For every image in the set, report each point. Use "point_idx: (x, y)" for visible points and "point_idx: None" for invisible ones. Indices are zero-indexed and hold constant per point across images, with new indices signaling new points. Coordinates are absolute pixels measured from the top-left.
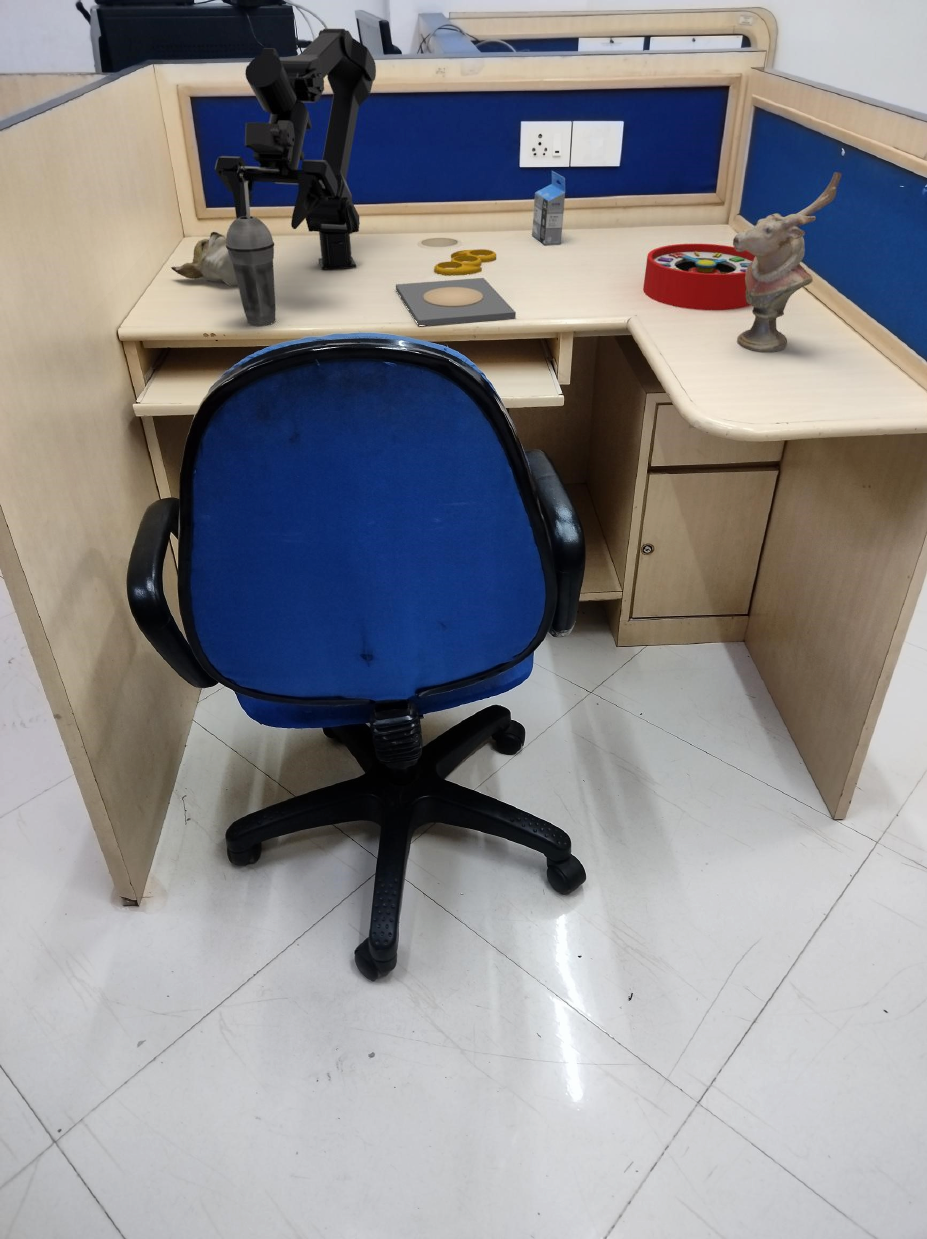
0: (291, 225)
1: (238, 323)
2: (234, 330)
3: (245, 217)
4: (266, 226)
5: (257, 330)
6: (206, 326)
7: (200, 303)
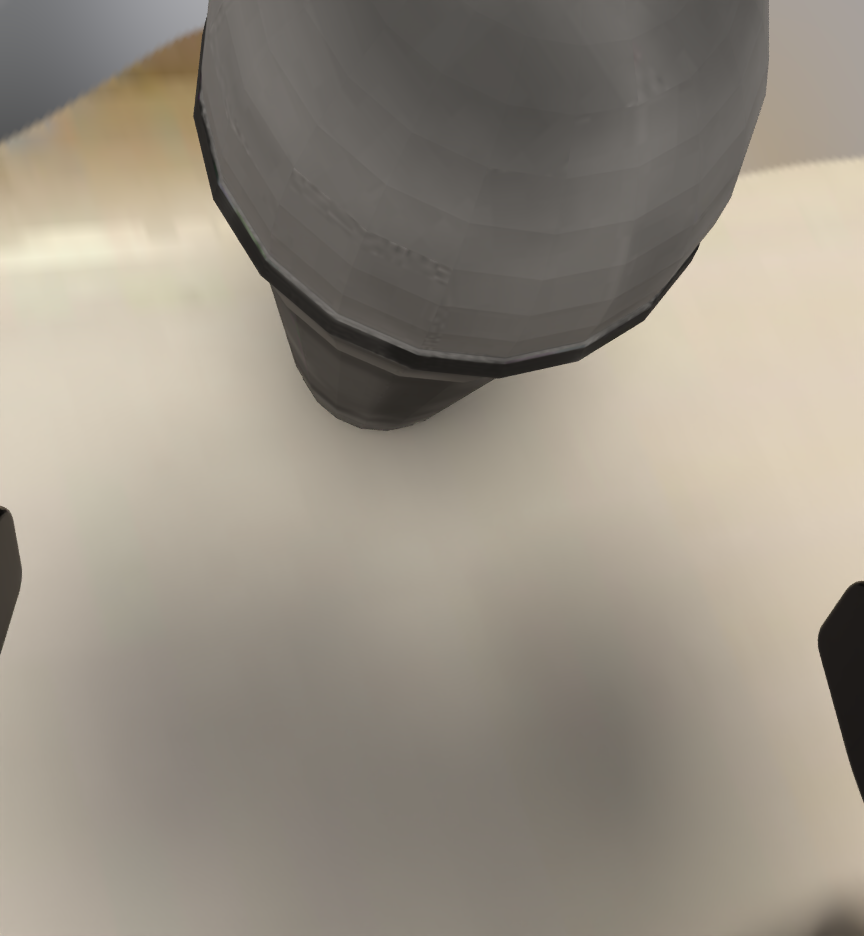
0: (5, 509)
1: None
2: None
3: (628, 18)
4: (266, 40)
5: None
6: None
7: None
